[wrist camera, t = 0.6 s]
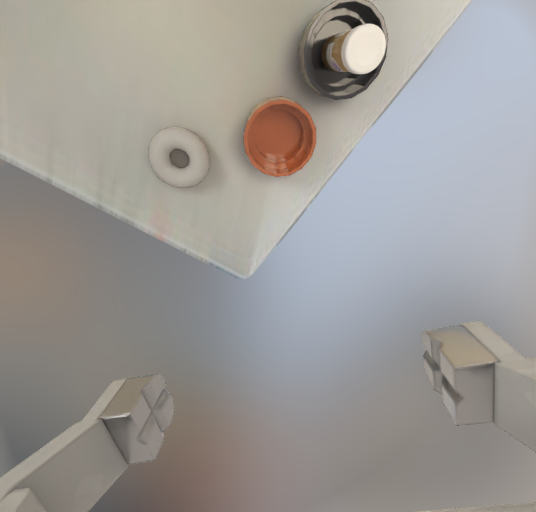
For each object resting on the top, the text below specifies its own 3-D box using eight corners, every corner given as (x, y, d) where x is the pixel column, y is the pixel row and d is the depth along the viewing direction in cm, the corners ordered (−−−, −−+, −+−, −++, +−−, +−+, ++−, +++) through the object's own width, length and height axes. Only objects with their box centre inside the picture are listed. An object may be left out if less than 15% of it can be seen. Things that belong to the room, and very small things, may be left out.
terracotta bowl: (254, 87, 44) (254, 89, 40) (319, 108, 47) (327, 113, 42) (238, 156, 50) (237, 166, 46) (297, 173, 52) (301, 183, 48)
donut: (222, 151, 50) (170, 110, 46) (220, 157, 47) (165, 114, 43) (190, 194, 54) (140, 159, 50) (187, 201, 51) (134, 165, 47)
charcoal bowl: (314, -9, 39) (323, -19, 34) (386, 21, 41) (403, 15, 36) (288, 82, 44) (293, 85, 40) (352, 104, 46) (363, 109, 42)
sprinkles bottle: (314, 61, 43) (337, 60, 32) (331, 26, 41) (362, 12, 29) (339, 77, 44) (369, 82, 33) (357, 44, 42) (396, 38, 31)
